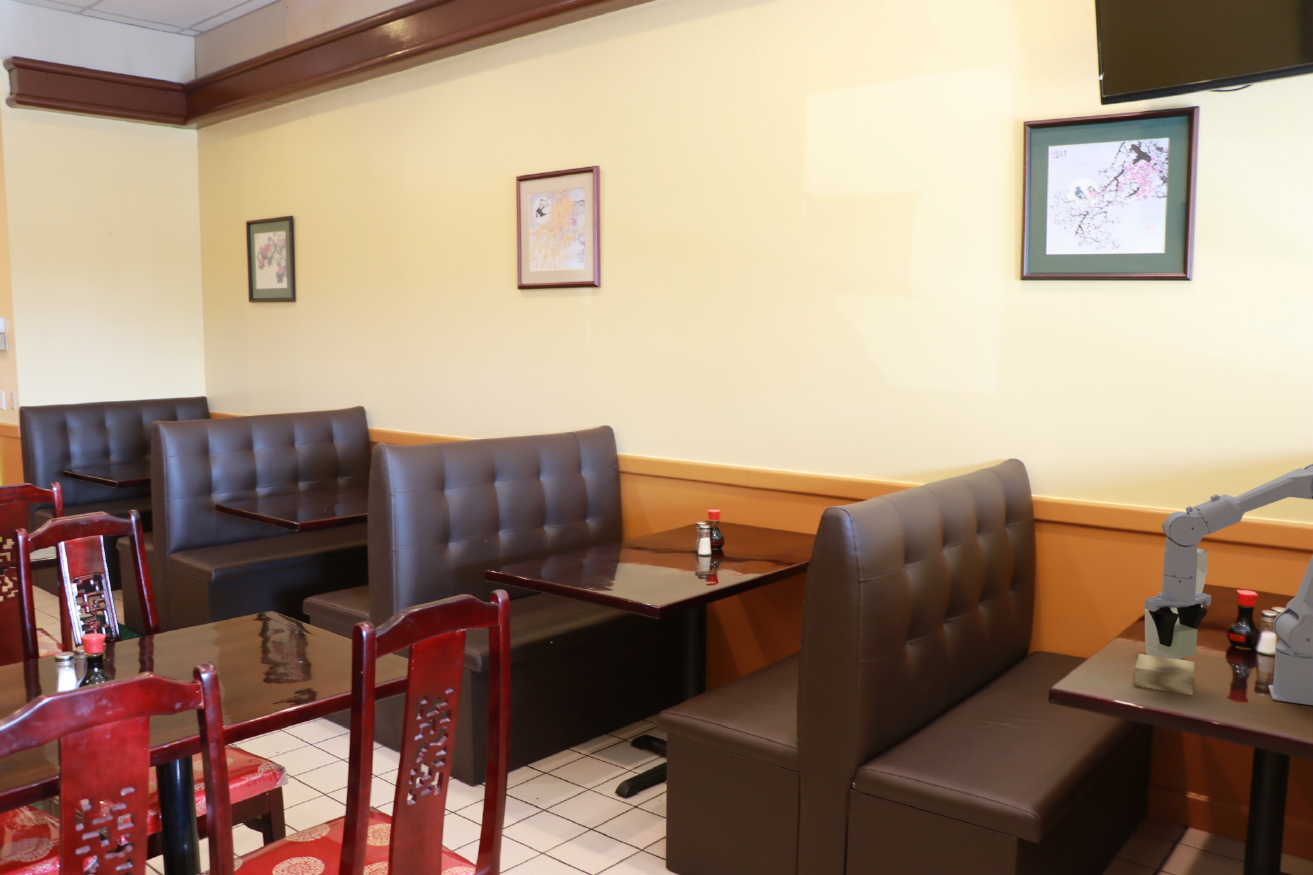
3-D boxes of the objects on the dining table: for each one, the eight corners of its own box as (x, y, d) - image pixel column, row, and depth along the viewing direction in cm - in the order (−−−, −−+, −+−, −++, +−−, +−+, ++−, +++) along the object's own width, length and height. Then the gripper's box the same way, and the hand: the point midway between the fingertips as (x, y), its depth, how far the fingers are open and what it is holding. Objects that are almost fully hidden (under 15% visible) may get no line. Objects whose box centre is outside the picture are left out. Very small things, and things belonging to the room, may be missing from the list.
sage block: (1176, 647, 194) (1177, 622, 194) (1195, 654, 190) (1197, 629, 189) (1157, 650, 193) (1159, 625, 192) (1177, 657, 188) (1178, 631, 188)
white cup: (1185, 654, 212) (1187, 608, 211) (1183, 664, 205) (1185, 617, 204) (1144, 648, 216) (1146, 603, 215) (1141, 658, 209) (1143, 612, 208)
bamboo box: (1193, 681, 196) (1194, 661, 196) (1192, 696, 188) (1193, 676, 187) (1137, 672, 201) (1138, 653, 201) (1134, 687, 193) (1135, 667, 192)
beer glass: (1176, 610, 246) (1179, 551, 245) (1170, 603, 253) (1174, 546, 252) (1207, 613, 244) (1211, 553, 243) (1201, 606, 251) (1204, 547, 250)
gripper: (1191, 567, 196) (1187, 634, 198) (1133, 572, 192) (1129, 641, 193) (1222, 575, 190) (1217, 644, 191) (1163, 581, 185) (1159, 652, 186)
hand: (1175, 643), depth 192 cm, fingers closed on sage block, 5 cm apart
